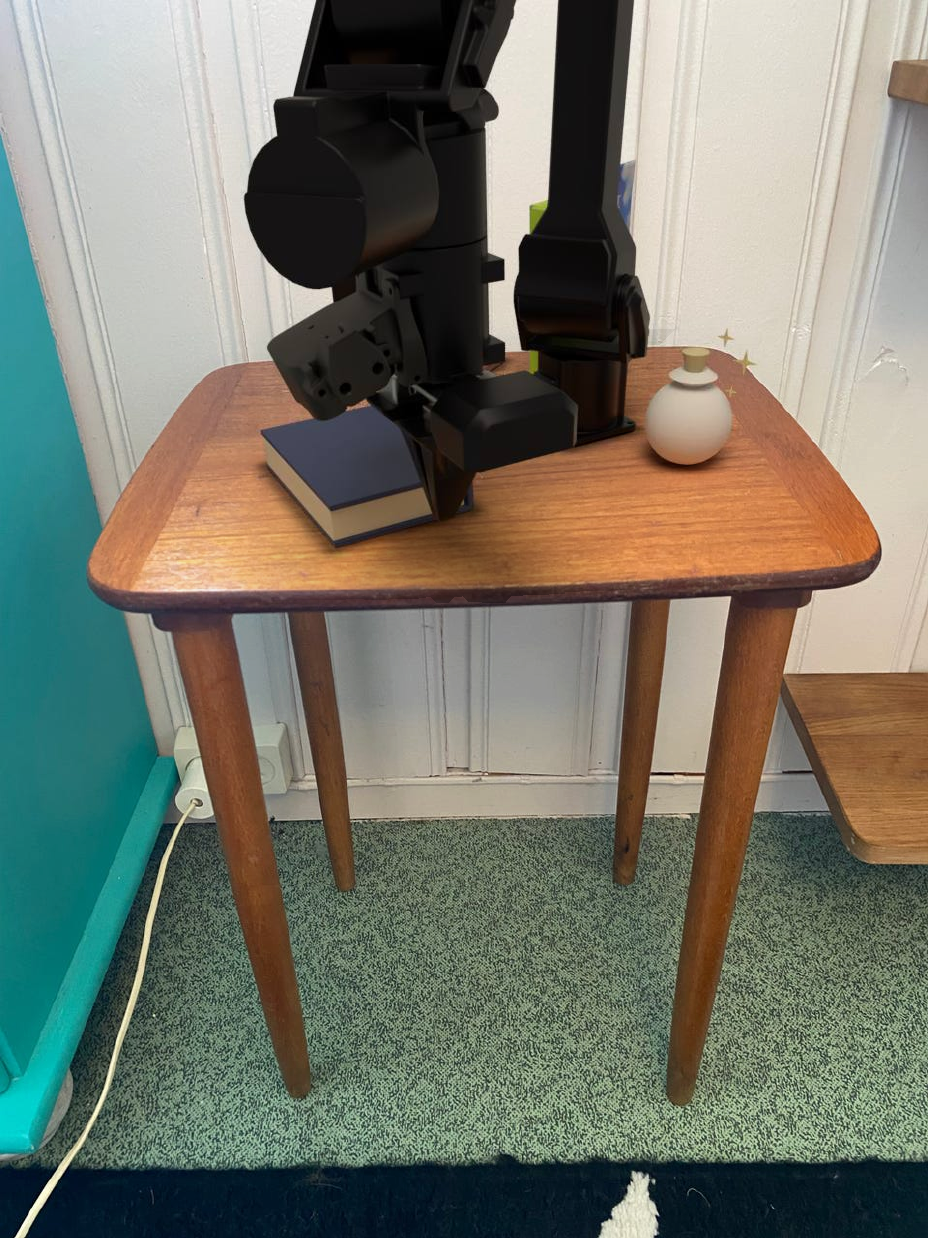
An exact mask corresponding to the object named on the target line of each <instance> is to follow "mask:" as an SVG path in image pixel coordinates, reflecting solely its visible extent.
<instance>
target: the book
mask: <svg viewBox="0 0 928 1238" xmlns="http://www.w3.org/2000/svg"><path fill="white" fill-rule="evenodd" d="M260 435H261V436H262V438H261V439H262V443H263V450H264V456H265V461H266V462H265V465H266V469H268V471H269V472H270V473H271V474H272V476H273V477H274V478H275V479H276V480H277V481H278V483H279V484H280V485H281V486H282V487H283V488H284V490H285V491H286V492H287V493H288V495H290V497H291V498H292V499H293V500H294V501H295V502H296V504H297V505H298V506H299V507H300V509H301V510H302V511H303V512H304V513H305V514H306V516H307V517H308V518H309V519H310V520H311V521H312V523H313V524H314V525H315V526H316V527H317V528H318V529H319V531H320V532H321V533H322V535H324V536H325V538H326V539H327V540H328V542H329V543H330V544H331V545H332V546H333V548H335V549H338V548H342V547H345V546H348V545H352V544H355V543H359V542H362V541H366V540H370V539H373V538H376V537H377V538H378V537H380V536H383V535H388V534H391V533H395V532H399V531H402V530H405V529H408V528H412V527H416V526H420V525H424V524H427V523H431V522H433V521H434V522H435V521H436V520H437V519H436V518H435V517H434V516H433V514H432V512H431V509H430V506H429V504H428V501H427V498H426V495H425V493H424V490H423V487H422V484H421V482H420V479H419V476H418V474H417V471H416V468H415V465H414V462H413V460H412V457H411V455H410V452H409V449H408V447H407V444H406V442H405V439H404V437H403V434H402V432H401V430H400V428H399V427H398V426H396V424H394V423H393V422H392V421H390V420H389V419H388V418H386V417H385V416H384V415H383V414H381V413H380V412H379V411H378V410H376V409H375V408H374V407H373V406H371V405H366V406H362V407H357V408H354V409H353V408H352V409H349V410H348V409H347V410H346V411H345V412H344V413H342V414H340V415H339V416H337V417H335V418H333V419H330V420H326V421H319V420H316V419H314V418H313V417H312V418H308V419H304V420H299V421H294V422H290V423H285V424H281V425H277V426H272V427H268V428H263V429H260ZM474 505H475V503H474V481H473V482H472V484H471V486H470V488H469V490H468V492H467V494H466V496H465V498H464V500H463V502H462V504H461V506H460V508H459V510H458V512H457V514H456V515H459V514H462V513H467V512H470V511H473V510H474V509H475V508H474V507H475V506H474ZM437 521H438V520H437Z"/></svg>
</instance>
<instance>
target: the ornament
mask: <svg viewBox="0 0 928 1238" xmlns="http://www.w3.org/2000/svg"><path fill="white" fill-rule="evenodd" d="M716 337H718V338H719V339H722V340H723V346H724V348H726V345H727V342H728V341H729V340H730V341H733V340H736V338H734V337H732V336H729V331H728V328H726V329H725V332H724V335H716ZM681 353H682V357H683V363H684V364H683V365H680V366H678V367H677V368H674V369H673V370H671V371H670V372H668V377H669V378H670V379H672V380H673V381H670V382H669V383H666V384H665V385H664V386H663V387H661V388H660V389H659V390H658V391H657V392H656V393H655V395H654V396H653V397H652V398H651V400H650V401H649V404H648V405H647V408H646V412H645V417H644V431H645V435H646V438H647V440H648V441H647V442H649V444H650V446H651V447H652V449H653V450H654V451H655V452H656V454H658V455H659V456H660V457H661V458H663V459H664V460H666V461H669V462H670V463H673V464H677V465H684V466H685V465H695V464H700V463H703V462H704V461H705V462H706V461H707V460H709V459H711V458H712V457H713V456H715V455H716V454H717V453H718V452H720V451H721V449H723V447H724V446H725V445H726V443H727V441H728V439H729V436H730V434H731V432H732V426H733V412H732V407H731V404H730V401H729V399H728V398H727V396H726V395H725V393H724V392H723V391H722V390H721V388H719V387H718V386H717V385H715V384H714V383H713V382H715V381H717V380H718V378H719V375H718V373H716V372H715V371H713V370H712V369H711V368H709V367H708V366H706V363H707V360H708V357H709V355H710V353H711V352H710V350H709V349H708V348H704V347H699V346H695V347H694V346H693V347H692V346H691V347H690V346H689V347H685V348H684V349H682V350H681ZM748 355H749V354H748V349H746V350H745V353H744V356H743V359H732V361H734V362H735V363H738V364H740V365H742V376H745V372H746V369H747V366H758V364H757V363H754V362H753V361H750V360H749V357H748ZM724 391H725V392H727V393H729V398H731V397H732V394H737V391H734V390H733V385H731V386H730V389H725V390H724Z"/></svg>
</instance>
